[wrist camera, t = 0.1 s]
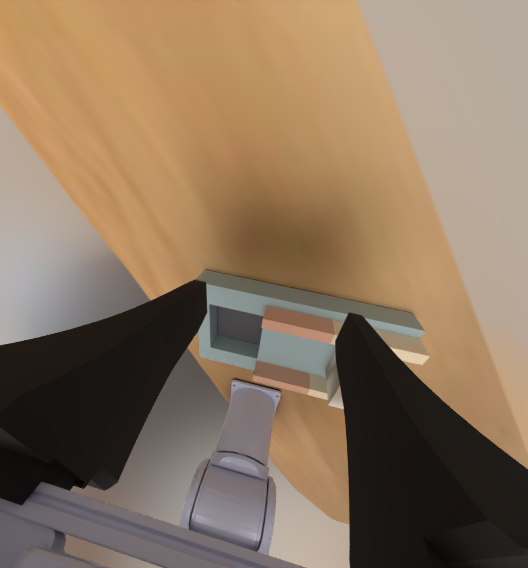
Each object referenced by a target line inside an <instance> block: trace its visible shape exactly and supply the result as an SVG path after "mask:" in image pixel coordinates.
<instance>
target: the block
mask: <svg viewBox="0 0 528 568" xmlns="http://www.w3.org/2000/svg"><path fill="white" fill-rule="evenodd" d="M325 374H326V385H327V397H328V405H330V406H333V407H337V408H341V409H344V407H343V401H342V395H341V389H340V384H339V378H338V372H337V366H336V356H335V351H334V353H333V355H332V357H331V359H330V361H329V363H328V365H327V367H326V369H325Z"/></svg>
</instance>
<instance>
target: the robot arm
mask: <svg viewBox="0 0 528 568" xmlns="http://www.w3.org/2000/svg"><path fill="white" fill-rule="evenodd" d="M206 314H207V288H206V282H204V281H199V280H193V281H191V282H189V283H186V284H184V285H182V286H180V287H178V288H176V289H174V290H172V291H170V292H168V293H166V294H164V295H162V296H160V297H158V298H156V299H154V300H151V301H149V302H147V303H145V304H142V305H140V306H138V307H136V308H133V309H131V310H128V311H125V312H123V313H120V314H117V315H115V316H112V317H109V318H106V319H103V320H100V321H97V322H93V323H90V324H87V325H83V326H80V327H77V328H73V329H70V330H66V331H62V332H58V333H54V334H50V335H46V336H42V337H38V338H34V339H29V340H24V341H20V342H15V343H10V344H5V345H0V568H110V567H108V566H105V565H103V564H100V563H98V562H95V561H92V560H89V559H86V558H82V557H79V556H75V555H72V554H68V553H65V551H64V545H65V542H66V537H65V534H68V535H71V536H73V537H76V538H79V539H82V540H85V541H88V542H91V543H94V544H97V545H100V546H102V547H105V548H108V549H111V550H114V551H117V552H120V553H122V554H125V555H128V556H131V557H134V558H137V559H140V560H143V561H146V562H148V563H151V564H154V565H157V566H160V567H163V568H305V567H302V566H299V565H296V564H293V563H290V562H287V561H284V560H280V559H277V558H274V557H271V556H268V553H269V548H270V544H271V539H272V533H273V525H274V517H275V505H276V485H275V483H274V481H273V478H272V477H269V476H268V472H269V467H267V462H268V455H269V447H270V439H271V432H272V424H273V418H274V415H275V412H276V409H277V406H278V403H279V400H280V396H281V392H280V391H278V390H274V389H270V388H266V387H262V386H258V385H254V384H250V383H246V382H242V381H238V380H232V384H231V398H230V406H229V409H228V412H227V415H226V419H225V422H224V425H223V428H222V431H221V434H220V438H219V441H218V444H217V447H216V450H215V451H213V452H212V455H211V458H210V459H209V458H206V459H204V461H202V462H201V463H200V464H199V466H198V468H197V470H196V472H195V474H194V477H193V480H192V482H191V485H190V488H189V491H188V494H187V497H186V500H185V504H184V507H183V510H182V515H181V520H180V523H179V526H176V525H173V524H170V523H167V522H164V521H161V520H158V519H154V518H152V517H149V516H146V515H143V514H139V513H136V512H133V511H130V510H127V509H124V508H121V507H118V506H115V505H112V504H108V503H105V502H103V501H100V500H97V499H93V498H90V497H87V496H84V495H81V494H78V493H75V492H72V491H70V489H71V488H72V487H73V486H76V487H79V488H83V489H84V488H85V487H86V486H87V485H89V486H92V487H95V488H98V489H101V490H107V489H109V488H110V487H112V486H113V485H115V484H116V483H117V482H118V480H119V478H120V475H121V473H122V471H123V469H124V466H125V464H126V462H127V459H128V457H129V455H130V453H131V451H132V449H133V446H134V444H135V442H136V440H137V438H138V436H139V434H140V432H141V429H142V427H143V425H144V423H145V421H146V419H147V417H148V415H149V413H150V411H151V409H152V407H153V405H154V403H155V401H156V399H157V397H158V395H159V393H160V391H161V389H162V388H163V386H164V384H165V382H166V380H167V378H168V376H169V375H170V373H171V371H172V369H173V368H174V366H175V365H176V363H177V362H178V360H179V359H180V357H181V356H182V354H183V353H184V351H185V350H186V348H187V347H188V345H189V344H190V342H191V341H192V339H193V338H194V336H195V335H196V333H197V332H198V330H199V329H200V327H201V325H202V323H203V321H204V319H205V316H206ZM335 356H336V366H337V372H338V378H339V384H340V389H341V395H342V401H343V407H344V414H345V424H346V438H347V454H348V474H349V518H350V557H349V559H350V560H349V561H350V568H528V469H526V468H525V467H524V466H523V465H521V464H520V463H519V462H517V461H516V460H515V459H513V458H512V457H511V456H509V455H508V454H507V453H505V452H504V451H503V450H502V449H500V448H499V447H498V446H496V445H495V444H494V443H493V442H491V441H490V440H489V439H488V438H486V437H485V436H484V435H483V434H481V433H480V432H479V431H478V430H476V429H475V428H474V427H473V426H472V425H470V424H469V423H468V422H467V421H466V420H464V419H463V418H462V417H461V416H460V415H458V414H457V413H456V412H455V411H454V410H453V409H451V408H450V407H449V406H448V405H447V404H446V403H445V402H444V401H442V400H441V399H440V398H439V397H438V396H437V395H436V394H435V393H434V392H433V391H432V390H431V389H429V388H428V387H427V386H426V385H425V384H424V383H423V382H422V381H421V380H420V379H419V378H418V377H417V376H416V375H415V374H414V373H413V372H412V371H411V370H410V369H409V368H408V367H407V366H406V365H405V364H404V363H403V361H402V360H401V359H400V358H399V357H398V356H397V355H396V354H395V353H394V352H393V351H392V349H391V348H390V347H389V346H388V345H387V344H386V343H385V341H384V340H383V339H382V338H381V337H380V336H379V334H378V333H377V332H376V331H375V330H374V328H373V327H372V326H371V325H370V324H369V323H368V321H367V320H366V319H365V318H364V317H363V316H362V315H359V314H355V313H350V312H349V313H348V315H347V317H346V319H345V321H344V323H343V325H342V328H341V330H340V332H339V334H338V336H337V338H336V340H335ZM63 533H65V534H63Z"/></svg>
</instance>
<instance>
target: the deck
mask: <svg viewBox="0 0 528 568" xmlns="http://www.w3.org/2000/svg"><path fill="white" fill-rule="evenodd" d="M196 280H199V281H204V282H206V288H207V314H206V316H205V319H204V321H203V323H202V325H201V327H200V329H199V330H198V337H199V350H200V357H201V358H205V359H209V360H213V361H217V362H221V363H225V364H229V365H233V366H237V367H241V368H245V369H249V370H253V371H254V374H253V380H252V381H255V382H259V383H263V384H266V385H270V386H274V387H278V388H282V389H286V390H290V391H294V392H298V393H302V394H306V395H310V396H314V397H318V398H322V399H326V400H328V397H327V385H326V374H325V369H326V367H327V365H328V363H329V361H330V359H331V357H332V355H333V353H334V351H335V340H336V338H337V336H338V334H339V332H340V330H341V328H342V325H343V323H344V321H345V319H346V317H347V315H348V313H349V312H350V313H355V314H359V315H362V316H363V317H364V318H365V319H366V320H367V321H368V323H369V324H370V325H371V326H372V327H373V328H374V330H375V331H376V332H377V333H378V334H379V336H380V337H381V338H382V339H383V340H384V341H385V343H386V344H387V345H388V346H389V347H390V348H391V349H392V351H393V352H394V353H395V354H396V355H397V356H398V357H399V358H400V359H401V360H403V361H407V362H411V363H416V364H420V365H423V364H424V362H425V361H426V360H427V359H428V358H429V357H430V355H429V354H428V352H427V351H426V349H425V347H424V346H423V344H422V343H421V341H420V339H419V338H420V337H421V336H422V334H423V333H424V332H425V330H424V329H423V327H422V326H421V324H420V323H419V321H418V320H417V319H416V317H415V316H414V314H413V313H409V312H405V311H400V310H395V309H390V308H385V307H381V306H376V305H371V304H366V303H362V302H357V301H352V300H347V299H342V298H338V297H333V296H328V295H323V294H319V293H314V292H309V291H304V290H299V289H295V288H290V287H285V286H280V285H276V284H271V283H266V282H261V281H256V280H252V279H247V278H242V277H237V276H233V275H228V274H223V273H218V272H213V271H209V270H204V271H203V272H202V274H201V275H200V276H199V277H198V278H197V279H196Z"/></svg>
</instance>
